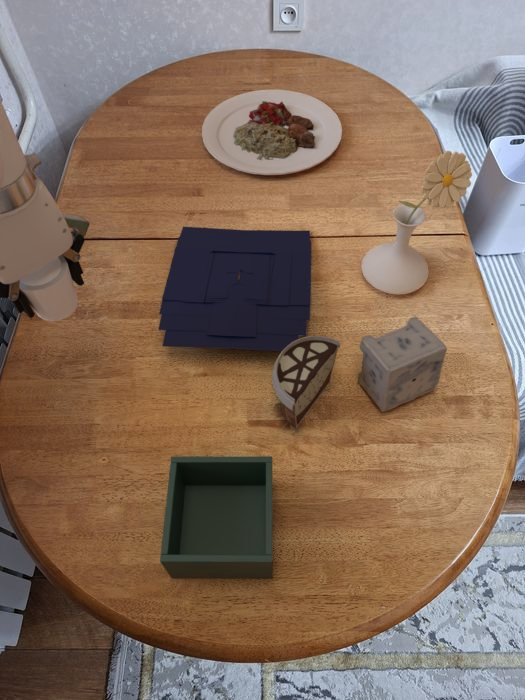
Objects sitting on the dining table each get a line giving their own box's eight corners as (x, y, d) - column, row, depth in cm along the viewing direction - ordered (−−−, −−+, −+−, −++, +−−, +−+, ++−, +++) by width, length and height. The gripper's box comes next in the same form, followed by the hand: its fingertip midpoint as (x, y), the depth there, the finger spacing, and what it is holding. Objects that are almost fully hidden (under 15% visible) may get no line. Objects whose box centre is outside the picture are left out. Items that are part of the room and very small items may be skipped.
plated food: (243, 199, 108) (242, 185, 105) (179, 122, 123) (177, 107, 120) (369, 151, 116) (371, 137, 113) (295, 83, 131) (295, 69, 128)
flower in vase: (363, 300, 93) (389, 179, 72) (357, 251, 99) (379, 127, 79) (441, 299, 93) (489, 178, 72) (429, 250, 99) (470, 126, 79)
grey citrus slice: (301, 357, 87) (304, 318, 78) (334, 376, 85) (341, 338, 76) (255, 414, 81) (253, 379, 73) (290, 436, 79) (292, 402, 71)
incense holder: (405, 351, 87) (419, 310, 78) (436, 392, 83) (455, 353, 74) (351, 374, 85) (360, 334, 76) (380, 417, 80) (393, 380, 72)
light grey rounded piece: (65, 278, 77) (48, 241, 71) (92, 305, 74) (77, 269, 68) (21, 304, 74) (0, 268, 68) (47, 333, 71) (28, 298, 65)
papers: (152, 357, 85) (148, 341, 83) (183, 238, 105) (180, 222, 102) (309, 364, 84) (310, 348, 82) (310, 242, 104) (311, 226, 101)
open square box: (272, 578, 68) (272, 562, 61) (171, 578, 68) (159, 561, 61) (272, 481, 75) (272, 456, 68) (180, 481, 75) (171, 456, 68)
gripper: (48, 134, 63) (90, 247, 77) (-99, 207, 56) (-23, 316, 70) (86, 162, 60) (122, 274, 74) (-65, 244, 53) (8, 350, 67)
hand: (51, 294), depth 72 cm, fingers closed on light grey rounded piece, 6 cm apart
